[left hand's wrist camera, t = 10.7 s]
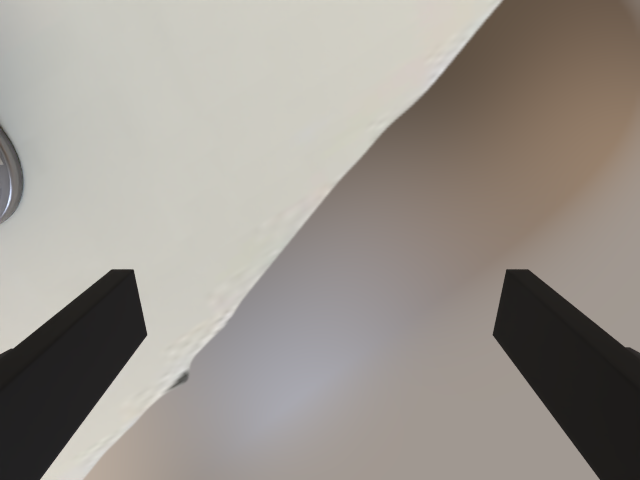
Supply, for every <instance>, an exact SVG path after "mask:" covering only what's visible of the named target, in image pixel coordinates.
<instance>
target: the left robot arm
mask: <svg viewBox="0 0 640 480" xmlns="http://www.w3.org/2000/svg"><path fill="white" fill-rule="evenodd" d="M22 189H23V177H22V170H21V166H20V162H19V159H18V157H17V154H16V152H15V150H14V148H13V146H12V144H11V142H10V141H9V139H8V137H7V136H6V134H5V133H4V132H3V130H2V129H1V128H0V224H1V223H2V222H4V221H5V220H7V219H8V218H9V217H10V216H11V215H12V214H13V213H14V211H15V210H16V208H17V206H18V204H19V202H20V199H21V195H22ZM146 336H147V331H146V326H145V322H144V317H143V312H142V307H141V303H140V298H139V293H138V288H137V284H136V279H135V274H134V269H112V270H111V271H109V272H108V273H107V274H106V275H104V276H103V277H102V278H101V279H99V280H98V281H97V282H96V283H94V284H93V285H92V286H91V287H89V288H88V289H87V290H86V291H84V292H83V293H82V294H81V295H79V296H78V297H77V298H76V299H74V300H73V301H72V302H71V303H69V304H68V305H67V306H66V307H65V308H63V309H62V310H61V311H60V312H58V313H57V314H56V315H55V316H53V317H52V318H51V319H50V320H48V321H47V322H46V323H45V324H43V325H42V326H41V327H40V328H38V329H37V330H36V331H35V332H33V333H32V334H31V335H30V336H28V337H27V338H26V339H25V340H23V341H22V342H21V343H20V344H18V345H17V346H16V347H15V348H14V349H9V350H8V351H6V352H4V353H2V354H0V480H40V479H41V478H42V476H43V475H44V474H45V472H46V471H47V470H48V468H49V467H50V465H51V464H52V463H53V461H54V460H55V459H56V457H57V456H58V455H59V453H60V452H61V451H62V449H63V448H64V447H65V445H66V444H67V443H68V441H69V440H70V439H71V437H72V436H73V434H74V433H75V432H76V430H77V429H78V428H79V426H80V425H81V424H82V422H83V421H84V420H85V418H86V417H87V416H88V414H89V413H90V412H91V410H92V409H93V407H94V406H95V405H96V403H97V402H98V401H99V399H100V398H101V397H102V395H103V394H104V393H105V391H106V390H107V389H108V387H109V386H110V385H111V383H112V382H113V381H114V379H115V378H116V376H117V375H118V374H119V372H120V371H121V370H122V368H123V367H124V366H125V364H126V363H127V362H128V360H129V359H130V358H131V356H132V355H133V354H134V352H135V351H136V350H137V348H138V347H139V345H140V344H141V343H142V341H143V340H144V339H145V337H146ZM493 336H494V337H495V339H496V340H497V341H498V343H499V344H500V345H501V347H502V348H503V350H504V351H505V352H506V354H507V355H508V356H509V358H510V359H511V360H512V362H513V363H514V364H515V366H516V367H517V368H518V370H519V371H520V372H521V374H522V375H523V376H524V378H525V379H526V381H527V382H528V383H529V385H530V386H531V387H532V389H533V390H534V391H535V393H536V394H537V395H538V397H539V398H540V399H541V401H542V402H543V403H544V405H545V406H546V407H547V409H548V410H549V411H550V413H551V414H552V416H553V417H554V418H555V420H556V421H557V422H558V424H559V425H560V426H561V428H562V429H563V430H564V432H565V433H566V434H567V436H568V437H569V438H570V440H571V441H572V443H573V444H574V445H575V447H576V448H577V449H578V451H579V452H580V453H581V455H582V456H583V457H584V459H585V460H586V461H587V463H588V464H589V465H590V467H591V468H592V470H593V471H594V472H595V474H596V475H597V476H598V478H599V479H600V480H640V353H639V352H637V351H635V350H633V349H631V348H628V347H624V346H623V345H621V344H620V343H619V342H618V341H617V340H615V339H614V338H613V337H612V336H610V335H609V334H608V333H607V332H605V331H604V330H603V329H602V328H600V327H599V326H598V325H597V324H595V323H594V322H593V321H592V320H590V319H589V318H588V317H587V316H585V315H584V314H583V313H582V312H580V311H579V310H578V309H577V308H575V307H574V306H573V305H572V304H571V303H569V302H568V301H567V300H566V299H564V298H563V297H562V296H561V295H559V294H558V293H557V292H556V291H554V290H553V289H552V288H551V287H549V286H548V285H547V284H546V283H544V282H543V281H542V280H541V279H539V278H538V277H537V276H536V275H534V274H533V273H532V272H531V271H529V270H528V269H527V270H526V269H525V270H523V269H522V270H521V269H520V270H519V269H518V270H517V269H509V270H508V269H507V270H506V274H505V279H504V284H503V288H502V293H501V298H500V303H499V308H498V312H497V317H496V322H495V326H494V331H493Z"/></svg>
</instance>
